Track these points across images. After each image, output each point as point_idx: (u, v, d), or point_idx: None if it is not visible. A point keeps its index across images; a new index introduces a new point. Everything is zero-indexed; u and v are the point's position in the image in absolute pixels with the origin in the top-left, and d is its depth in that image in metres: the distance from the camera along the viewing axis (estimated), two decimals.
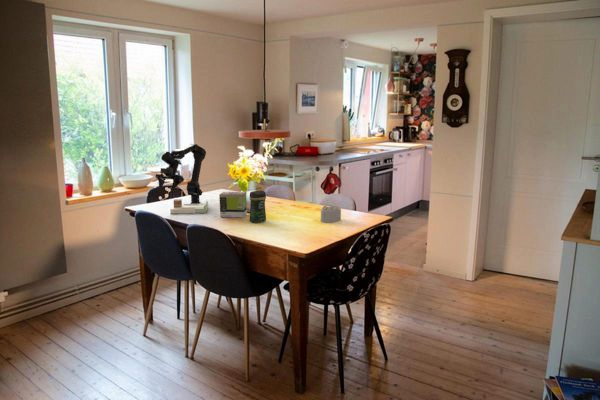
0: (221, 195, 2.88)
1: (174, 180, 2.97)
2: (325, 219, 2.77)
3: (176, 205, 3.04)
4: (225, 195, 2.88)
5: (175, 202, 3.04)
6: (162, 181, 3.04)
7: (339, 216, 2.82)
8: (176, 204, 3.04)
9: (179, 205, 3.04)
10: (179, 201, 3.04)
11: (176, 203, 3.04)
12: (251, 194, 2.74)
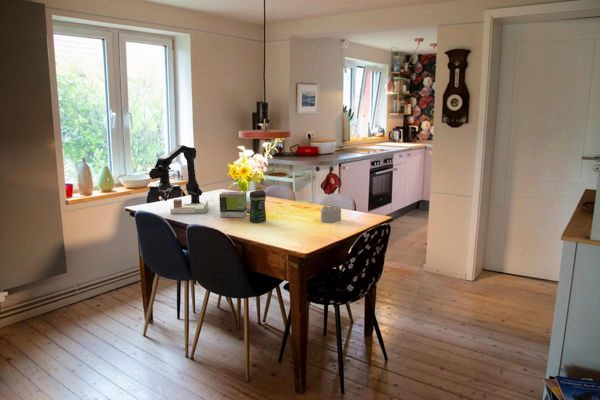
0: (221, 195, 2.88)
1: (167, 192, 3.02)
2: (325, 219, 2.77)
3: (176, 205, 3.04)
4: (225, 195, 2.88)
5: (175, 202, 3.04)
6: (164, 192, 3.04)
7: (339, 216, 2.82)
8: (176, 204, 3.04)
9: (179, 205, 3.04)
10: (179, 201, 3.04)
11: (176, 203, 3.04)
12: (251, 194, 2.74)
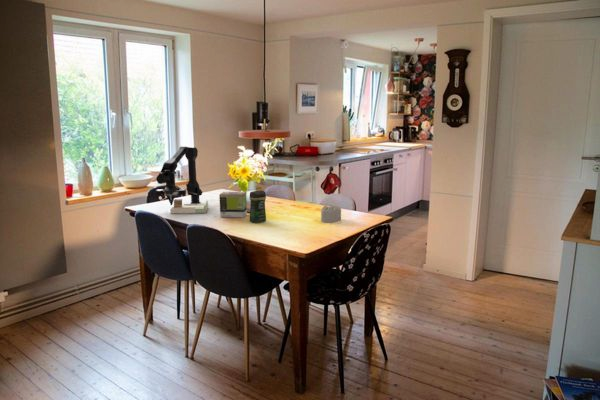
0: (221, 195, 2.88)
1: (173, 196, 3.03)
2: (325, 219, 2.77)
3: (176, 205, 3.04)
4: (225, 195, 2.88)
5: (175, 202, 3.03)
6: (170, 196, 3.05)
7: (339, 216, 2.82)
8: (176, 204, 3.04)
9: (179, 205, 3.04)
10: (179, 201, 3.04)
11: (176, 203, 3.04)
12: (251, 194, 2.74)
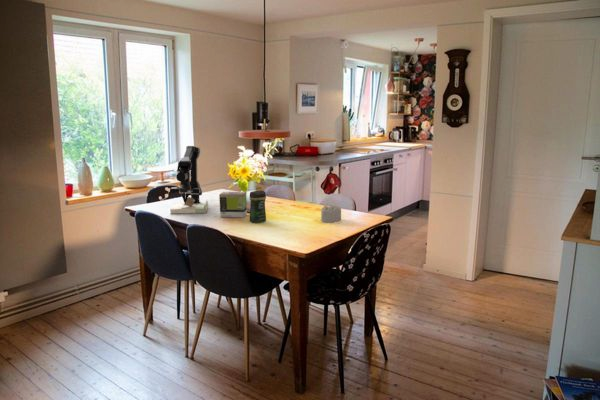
0: (221, 195, 2.88)
1: (187, 194, 3.03)
2: (326, 219, 2.77)
3: (188, 203, 3.04)
4: (225, 195, 2.88)
5: (188, 200, 3.04)
6: (184, 194, 3.06)
7: (339, 216, 2.82)
8: (188, 202, 3.04)
9: (190, 205, 3.04)
10: (192, 201, 3.04)
11: (189, 201, 3.04)
12: (251, 194, 2.74)
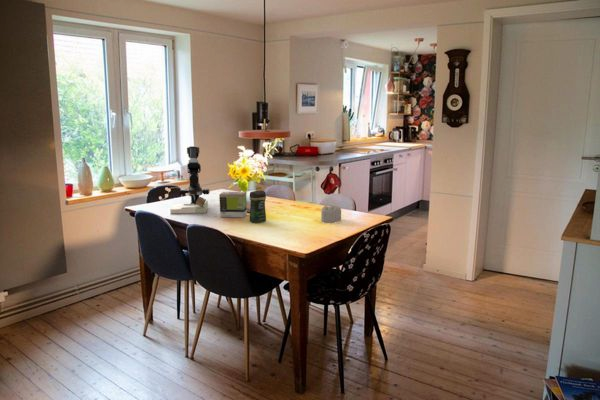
0: (221, 195, 2.88)
1: (197, 196, 3.04)
2: (326, 219, 2.77)
3: (198, 203, 3.05)
4: (225, 195, 2.88)
5: (199, 200, 3.04)
6: (194, 195, 3.07)
7: (339, 216, 2.82)
8: (199, 202, 3.05)
9: (201, 204, 3.05)
10: (203, 201, 3.04)
11: (199, 201, 3.04)
12: (251, 194, 2.74)
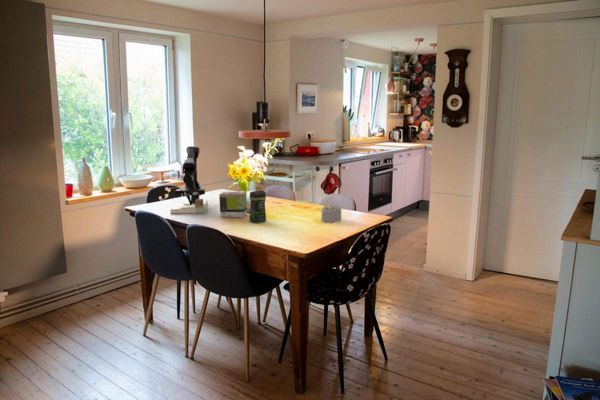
0: (221, 195, 2.88)
1: (192, 196, 3.04)
2: (326, 219, 2.77)
3: (197, 205, 3.05)
4: (225, 195, 2.88)
5: (196, 202, 3.05)
6: (189, 196, 3.06)
7: (340, 216, 2.82)
8: (197, 204, 3.05)
9: (200, 205, 3.05)
10: (200, 201, 3.04)
11: (197, 203, 3.05)
12: (251, 194, 2.74)
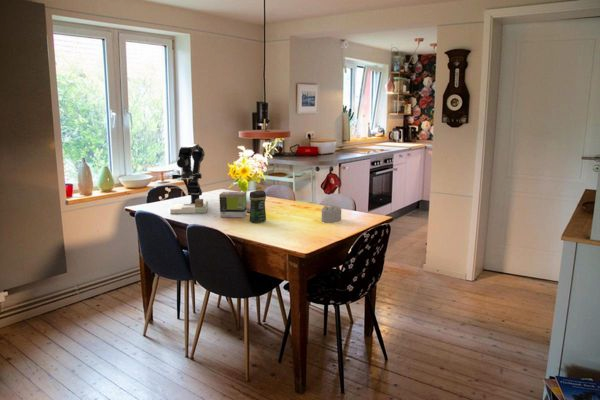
0: (221, 195, 2.88)
1: (189, 180, 3.11)
2: (326, 219, 2.77)
3: (197, 205, 3.05)
4: (225, 195, 2.88)
5: (196, 202, 3.05)
6: (186, 180, 3.14)
7: (340, 216, 2.82)
8: (197, 204, 3.05)
9: (200, 205, 3.05)
10: (200, 201, 3.04)
11: (197, 203, 3.05)
12: (251, 194, 2.74)
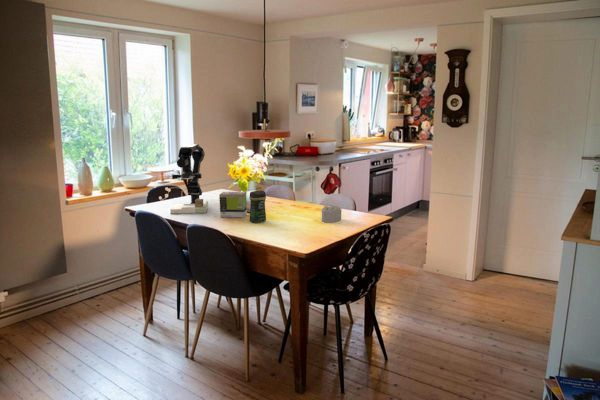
0: (221, 195, 2.88)
1: (189, 180, 3.11)
2: (326, 219, 2.77)
3: (197, 205, 3.05)
4: (225, 195, 2.88)
5: (196, 202, 3.05)
6: (186, 180, 3.14)
7: (340, 216, 2.82)
8: (197, 204, 3.05)
9: (200, 205, 3.05)
10: (200, 201, 3.04)
11: (197, 203, 3.05)
12: (251, 194, 2.74)
